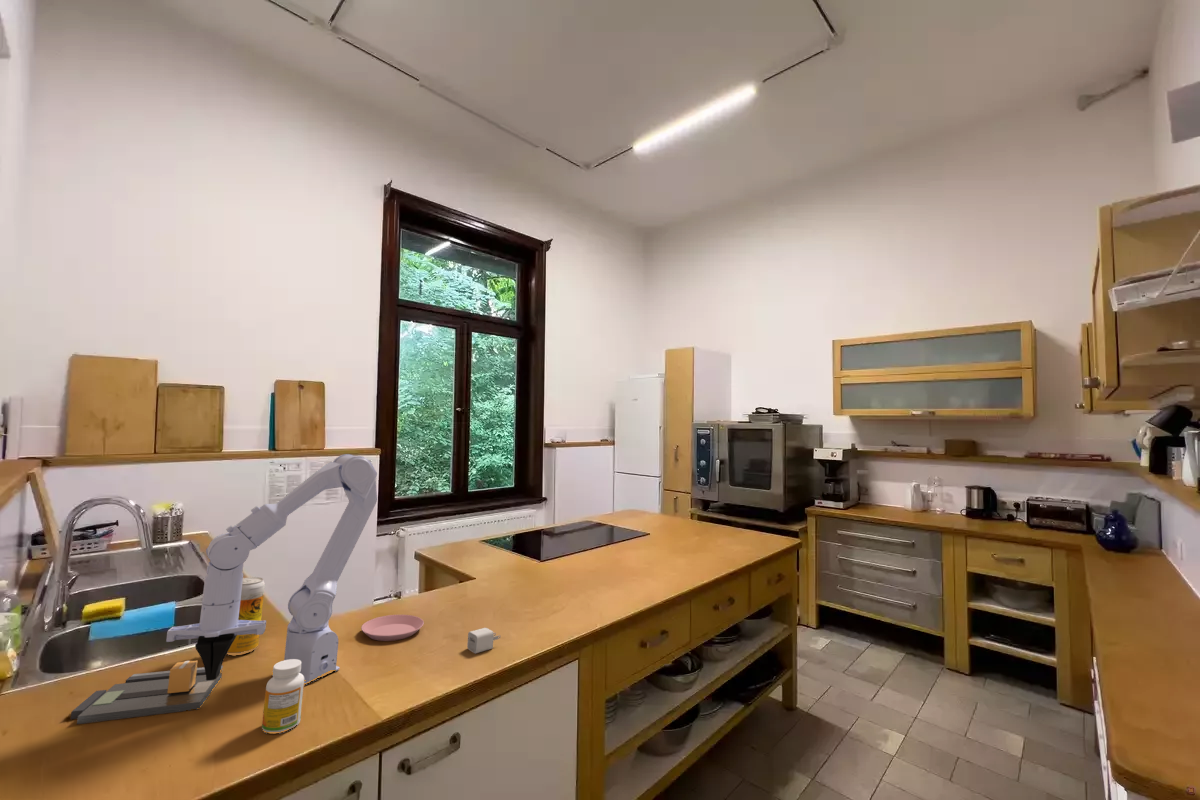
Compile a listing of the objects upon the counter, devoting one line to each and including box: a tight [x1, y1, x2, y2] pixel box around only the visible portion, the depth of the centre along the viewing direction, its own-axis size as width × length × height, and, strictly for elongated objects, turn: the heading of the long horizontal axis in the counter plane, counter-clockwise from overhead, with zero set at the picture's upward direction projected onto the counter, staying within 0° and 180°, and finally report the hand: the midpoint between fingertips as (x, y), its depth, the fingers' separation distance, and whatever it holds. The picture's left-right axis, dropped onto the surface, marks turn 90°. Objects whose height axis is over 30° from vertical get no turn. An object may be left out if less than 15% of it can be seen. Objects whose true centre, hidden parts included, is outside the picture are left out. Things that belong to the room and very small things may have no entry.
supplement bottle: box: [261, 659, 305, 732], centre depth 81 cm, size 5×5×10 cm
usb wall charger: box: [467, 627, 501, 654], centre depth 115 cm, size 4×7×4 cm, turn 135°
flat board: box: [70, 664, 224, 720], centre depth 89 cm, size 17×13×1 cm
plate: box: [360, 614, 425, 642], centre depth 122 cm, size 14×14×2 cm
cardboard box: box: [167, 660, 198, 694], centre depth 88 cm, size 3×3×4 cm
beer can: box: [227, 576, 266, 653], centre depth 108 cm, size 6×6×15 cm
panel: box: [76, 672, 223, 725], centre depth 87 cm, size 16×11×1 cm
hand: (212, 677), depth 90 cm, fingers closed
